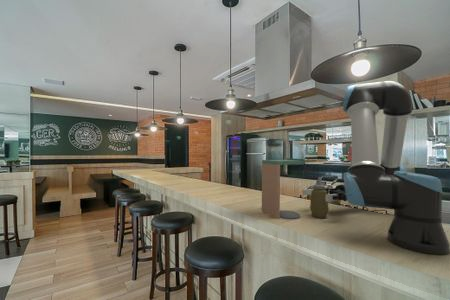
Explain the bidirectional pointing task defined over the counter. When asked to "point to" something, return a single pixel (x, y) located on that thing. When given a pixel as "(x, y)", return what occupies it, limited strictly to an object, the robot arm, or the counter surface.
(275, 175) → the green-topped pedestal
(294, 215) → the coaster
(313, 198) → the squeeze bottle
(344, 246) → the counter surface
